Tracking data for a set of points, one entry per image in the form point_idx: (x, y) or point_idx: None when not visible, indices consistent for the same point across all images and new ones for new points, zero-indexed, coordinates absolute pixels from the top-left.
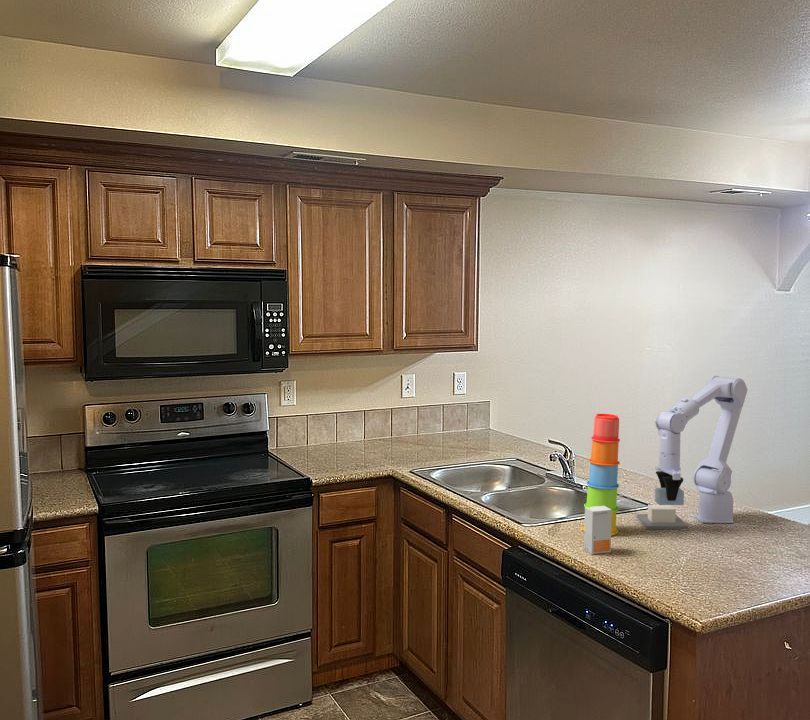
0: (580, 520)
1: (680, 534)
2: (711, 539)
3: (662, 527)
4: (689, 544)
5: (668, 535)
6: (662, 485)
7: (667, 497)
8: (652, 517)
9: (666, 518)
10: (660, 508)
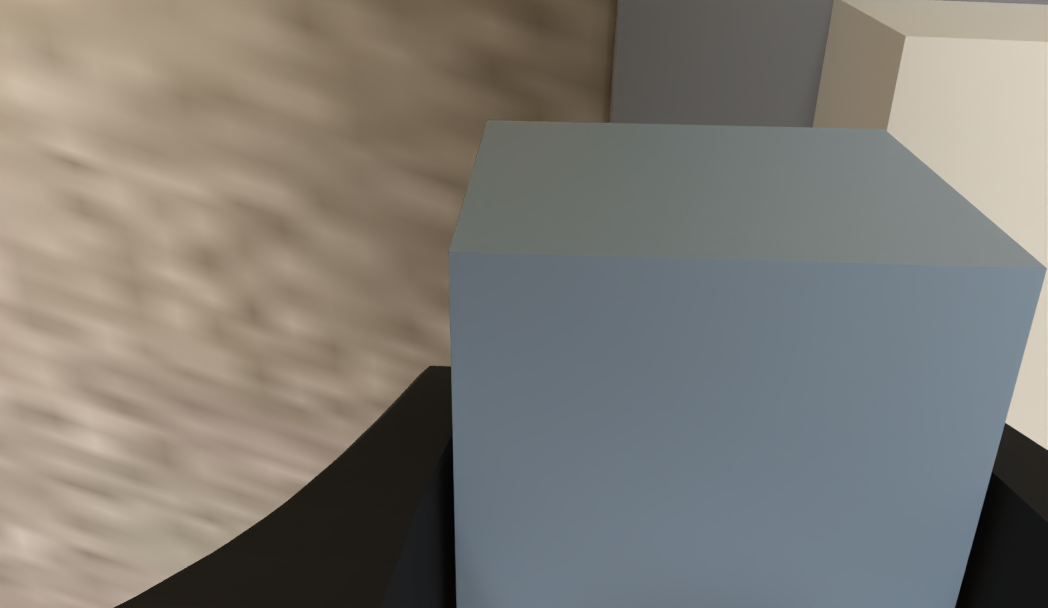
0: None
1: (399, 271)
2: (237, 531)
3: (613, 106)
4: (5, 247)
5: (346, 99)
6: (1037, 558)
7: (429, 389)
8: (853, 23)
9: None
10: None
